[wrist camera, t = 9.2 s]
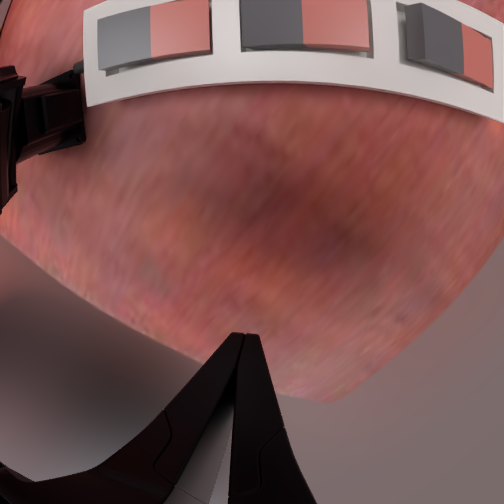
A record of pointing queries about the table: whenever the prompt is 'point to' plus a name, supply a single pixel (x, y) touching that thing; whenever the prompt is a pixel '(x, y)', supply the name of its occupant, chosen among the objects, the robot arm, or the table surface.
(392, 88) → the rocker switch panel
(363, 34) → the rocker
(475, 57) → the rocker
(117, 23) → the rocker
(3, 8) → the hard drive box
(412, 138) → the table surface
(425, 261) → the table surface
